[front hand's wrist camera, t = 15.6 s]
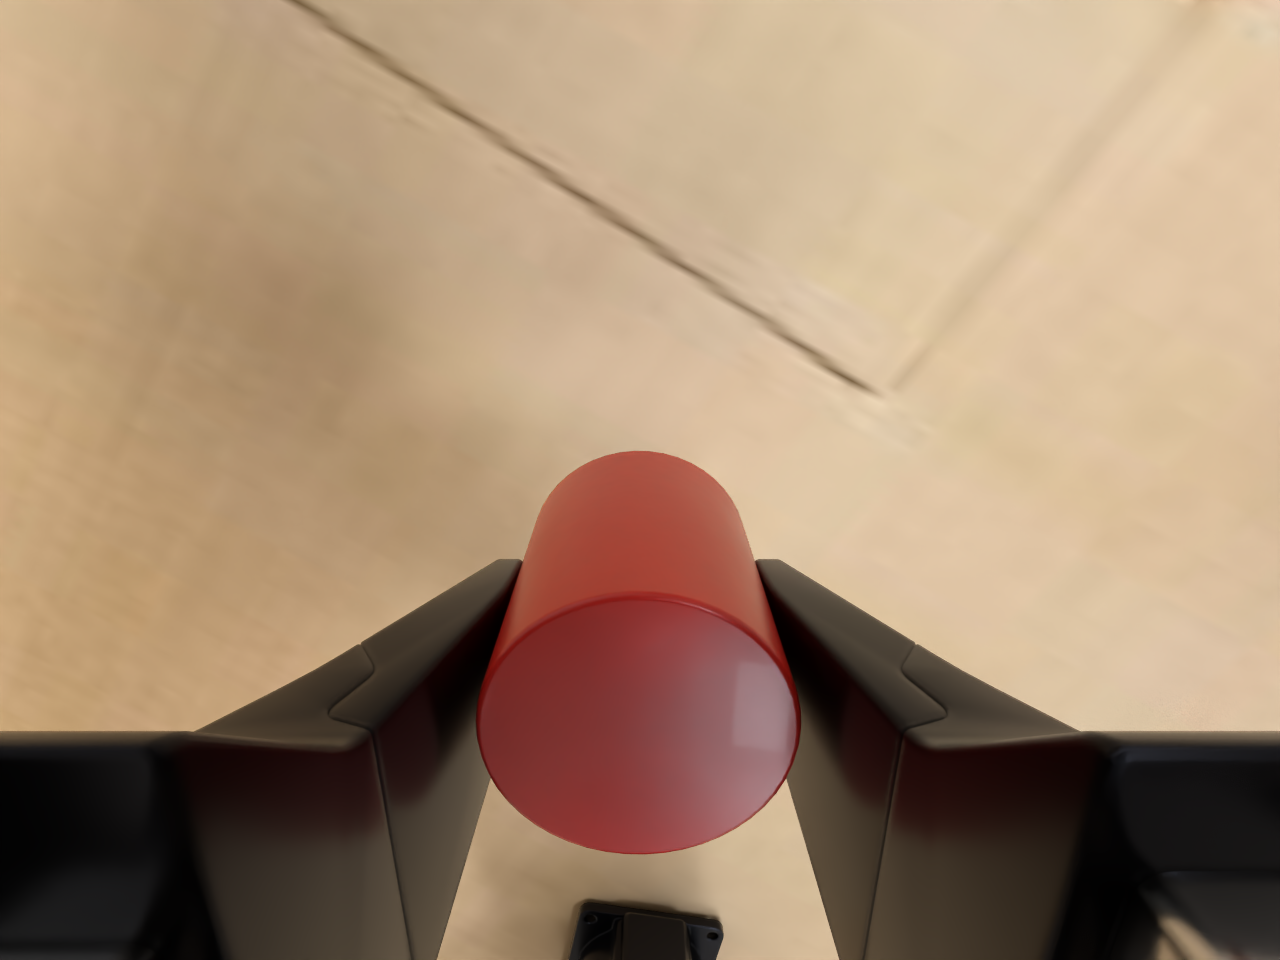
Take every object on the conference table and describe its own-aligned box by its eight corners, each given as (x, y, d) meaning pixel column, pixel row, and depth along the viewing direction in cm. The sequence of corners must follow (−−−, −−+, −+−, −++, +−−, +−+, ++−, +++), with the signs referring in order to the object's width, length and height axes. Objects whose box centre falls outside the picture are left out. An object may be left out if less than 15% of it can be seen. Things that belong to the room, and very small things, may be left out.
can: (529, 630, 13) (473, 845, 8) (537, 439, 11) (474, 580, 7) (729, 646, 13) (774, 867, 9) (759, 459, 12) (831, 608, 7)
